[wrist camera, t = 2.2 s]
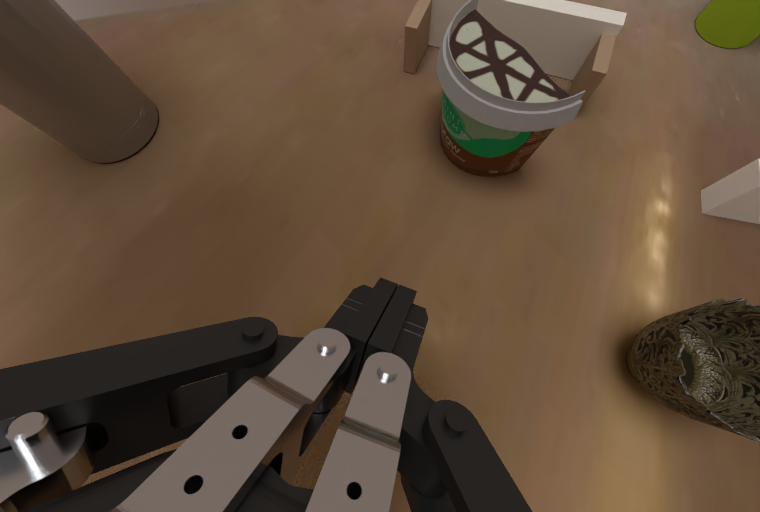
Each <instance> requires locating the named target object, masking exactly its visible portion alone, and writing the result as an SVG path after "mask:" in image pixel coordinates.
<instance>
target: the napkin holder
mask: <svg viewBox="0 0 760 512" xmlns="http://www.w3.org/2000/svg"><path fill="white" fill-rule="evenodd" d="M701 203H702V214H707V215H713V216H718V217H723V218H729V219H734V220H740V221H745V222H751V223H756V224H760V159H757V160H755V161H753V162H752V163H750V164H748V165H746V166H744V167H743V168H741V169H739V170H737V171H735V172H734V173H732V174H730V175H728V176H726V177H725V178H723V179H721V180H719V181H717V182H716V183H714V184H712V185H710V186H708V187H707V188H705V189H703V190H701Z"/></svg>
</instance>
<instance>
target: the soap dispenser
mask: <svg viewBox="0 0 760 512" xmlns="http://www.w3.org/2000/svg"><path fill="white" fill-rule="evenodd" d="M695 27H696V30H697V32H698V33H699V35H700V36H701V37H702V38H703V39H704V40H706V41H707V42H709V43H711V44H713V45H716V46H719V47H723V48H741V47H744V46H746V45H748V44H750V43H751V42H752V41H753V40H754V39H755V38H757V37H758V36H759V35H760V0H712V1H711V2H710V3H709V4H708V5H707V7H706V8H705V9H704V10H703V11H702V12H701V13H700V15H699V16H698V17H697V19H696V22H695Z"/></svg>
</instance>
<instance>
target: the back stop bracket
mask: <svg viewBox="0 0 760 512" xmlns="http://www.w3.org/2000/svg"><path fill="white" fill-rule="evenodd" d="M468 1H469V0H418V2H417V4H416V6H415V8H414V9H413V11H412V13H411V15H410V17H409V19H408V21H407V23H406V25H405V52H404V72H408V73H412V74H415V72H416V70H417V67H418V65H419V63H420V61H421V59H422V57H423V55H424V53H425V51H426V48H427V46H428V45H430V46H434V47H438V48H440V47H441V44H442V41H443V38H444V36H445V33H446V30H447V28H448V27H449V25H450V23H451V21H452V20H453V18H454V17H455V15H456V13H457V12H458V11H459V10H460V9H461V7H462V6H463V5H465V4H466V3H467V2H468ZM477 11H478V12H479V13H480V14H481V15H482V16H483V17H484V18H485V19H486V20H487V21H488V22H489V23H490V24H491V25H493V26H494V27H495V28H496V29H497V30H499V31H500V32H501V33H503V34H504V35H506V36H507V37H509V38H511V39H512V40H514V41H515V42H517V43H518V44H519V45H521V46H522V47H524V48H525V49H526V51H527V52H528V53H529V54H530V55H531V56H532V58H533V59H534V60H535V61H536V63H537V64H538V65H539V66H540V68H541V69H542V70H543V72H544V73H545V74H549V75H553V76H557V77H561V78H565V79H569V80H573V81H572V84H571V88H570V91H569V96H570V97H571V96H574V95H576V94H578V93H580V92H582V91H584V90H585V93H584V94H583V96H582V97H581V99H580V100H582V101H583V102H582V104H581V106H580V109H581V108H582V107H583V105H584V104H585V102H586V101H587V100H588V98H589V97H590V96H591V94H592V93H593V92H594V90H595V89H596V87H597V86H598V85H599V83H600V82H601V81H602V79H603V78H604V77H605V75H606V74H607V70H608V66H609V62H610V58H611V54H612V50H613V46H614V42H615V38H616V36H617V34H618V33H619V31H620V30H621V28H622V27H623V25H624V21H625V17H626V13H624V12H619V11H614V10H609V9H604V8H599V7H595V6H590V5H585V4H580V3H575V2H570V1H565V0H478V5H477ZM580 109H579V111H580ZM579 111H578V112H579Z"/></svg>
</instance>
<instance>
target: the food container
mask: <svg viewBox="0 0 760 512" xmlns="http://www.w3.org/2000/svg"><path fill="white" fill-rule="evenodd" d="M477 5H478V0H469V1H468V2H467V3H466V4H465V5H463V6H462V7H461V9H460V10H459V11H458V12H457V13H456V15H455V17H454V18H453V20H452V21H451V23H450V25H449V27H448V28H447V30H446V33H445V36H444V38H443V41H442V44H441V47H440V50H439V53H438V56H437V64H436V66H437V75H438V79H439V82H440V85H441V87H442V89H443V97H442V112H441V127H440V139H441V146H442V148H443V151H444V153H445V155H446V156H447V158H448V159H449V160H450V161H451V162H452V163H453V164H454V165H456V166H457V167H458V168H460V169H462V170H463V171H465V172H468V173H471V174H474V175H478V176H486V177H493V176H501V175H506V174H509V173H512V172H514V171H516V170H518V169H519V168H520V167H521V166H522V165H523V164H524V163H525V162H526V161H527V159H528V158H529V157H530V156H531V155H532V154H533V153H534V151H535V150H536V149H537V148H538V147H539V146H540V145H541V143H542V142H543V141H544V140H545V139H546V138H547V137H548V135H549V134H550V133H551V132H552V131H553V130H554V129H555V127H558V126H561V125H564V124H566V123H568V122H570V121H572V120H574V119H575V117H576V115H577V113H578V111H579V109H580V106H581V104H582V102H583V101H582V100H580V99H581V97H582V96H583V94H584V93H585V90H584V91H582V92H580V93H578V94H576V95H574V96H571V97H570V96H569V94H568V93H567V92H565V91H564V90H562V89H561V88H560V87H558V86H557V85H556V84H555V83H554V82H553V81H552V80H551V79H550V78H549V77H548V76H547V75H546V74H545V73H544V72H543V70H542V69H541V68H540V66H539V65H538V64H537V63H536V61H535V60H534V59H533V58H532V56H531V55H530V54H529V53H528V52H527V51H526V49H525V48H524V47H522V46H521V45H519V44H518V43H517V42H515V41H514V40H512V39H511V38H509V37H507V36H506V35H504V34H503V33H501V32H500V31H499V30H497V29H496V28H495V27H494V26H493V25H491V24H490V23H489V22H488V21H487V20H486V19H485V18H484V17H483V16H482V15H481V14H480V13H479V12H478V11H477Z"/></svg>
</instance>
